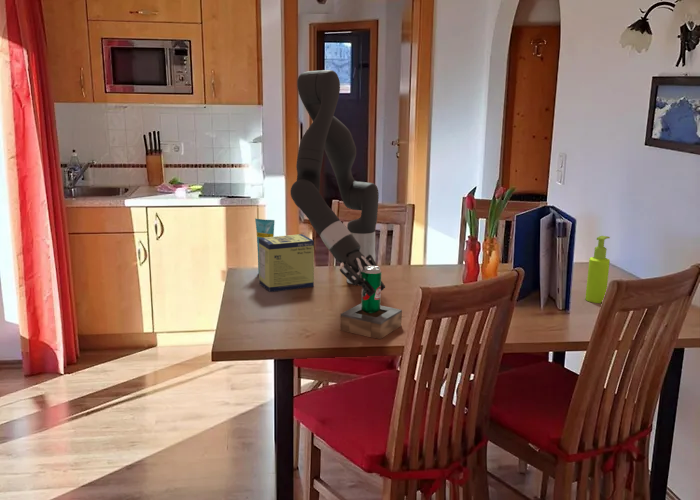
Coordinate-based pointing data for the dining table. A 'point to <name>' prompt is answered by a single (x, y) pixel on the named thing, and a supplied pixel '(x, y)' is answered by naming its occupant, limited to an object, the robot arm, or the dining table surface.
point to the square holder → (371, 321)
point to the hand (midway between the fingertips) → (377, 291)
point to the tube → (264, 231)
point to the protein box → (286, 262)
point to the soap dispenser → (597, 273)
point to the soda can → (374, 279)
